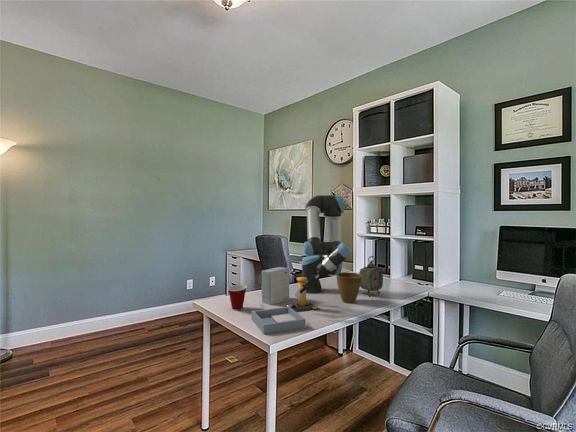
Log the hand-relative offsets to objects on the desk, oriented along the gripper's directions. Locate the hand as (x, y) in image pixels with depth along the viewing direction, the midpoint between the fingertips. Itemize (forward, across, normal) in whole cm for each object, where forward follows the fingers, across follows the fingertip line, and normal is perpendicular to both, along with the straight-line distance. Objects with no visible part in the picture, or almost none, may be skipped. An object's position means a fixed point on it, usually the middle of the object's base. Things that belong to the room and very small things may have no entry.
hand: (298, 293), depth 165 cm
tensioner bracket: (+5, 0, -8) cm, 9 cm away
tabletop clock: (-21, +42, -35) cm, 59 cm away
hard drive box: (+17, +9, +4) cm, 20 cm away
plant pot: (-12, +23, -25) cm, 36 cm away
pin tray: (+11, -21, -2) cm, 24 cm away
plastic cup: (+30, -5, +17) cm, 35 cm away
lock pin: (+4, 0, -7) cm, 8 cm away
